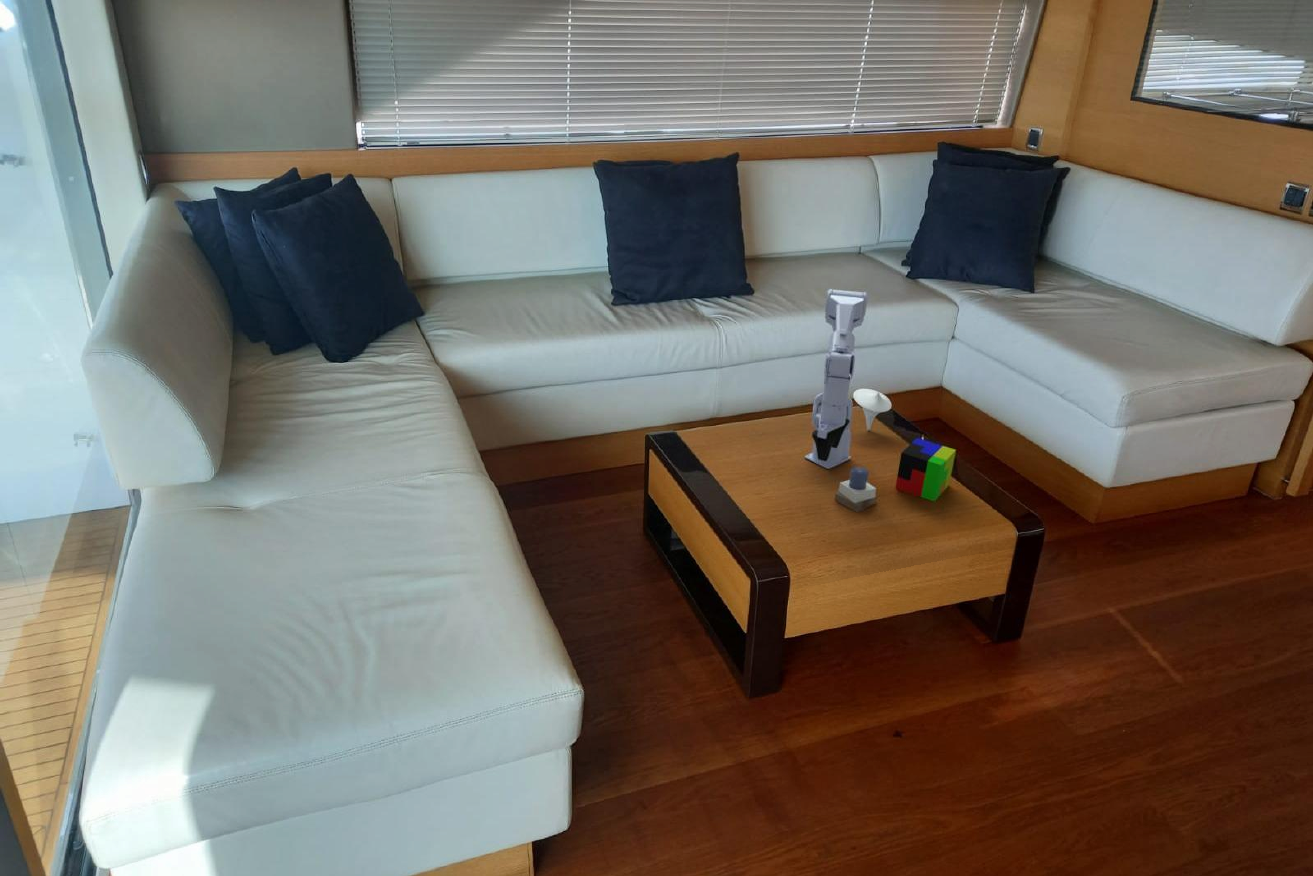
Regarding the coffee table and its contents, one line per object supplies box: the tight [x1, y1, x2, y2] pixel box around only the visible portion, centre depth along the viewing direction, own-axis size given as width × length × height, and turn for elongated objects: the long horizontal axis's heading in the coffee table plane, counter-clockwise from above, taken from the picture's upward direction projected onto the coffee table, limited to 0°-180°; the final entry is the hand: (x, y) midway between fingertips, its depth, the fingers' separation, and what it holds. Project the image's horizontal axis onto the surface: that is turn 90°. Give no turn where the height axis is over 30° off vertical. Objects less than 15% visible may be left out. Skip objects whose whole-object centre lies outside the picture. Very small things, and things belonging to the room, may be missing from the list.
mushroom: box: [852, 388, 892, 431], centre depth 256 cm, size 10×11×12 cm
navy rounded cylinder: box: [849, 466, 869, 490], centre depth 220 cm, size 4×4×4 cm
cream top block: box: [838, 479, 877, 503], centre depth 222 cm, size 6×6×2 cm
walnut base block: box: [834, 491, 878, 513], centre depth 223 cm, size 7×7×2 cm
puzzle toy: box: [894, 438, 957, 502], centre depth 229 cm, size 10×10×10 cm
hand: (827, 453), depth 223 cm, fingers open, 7 cm apart
